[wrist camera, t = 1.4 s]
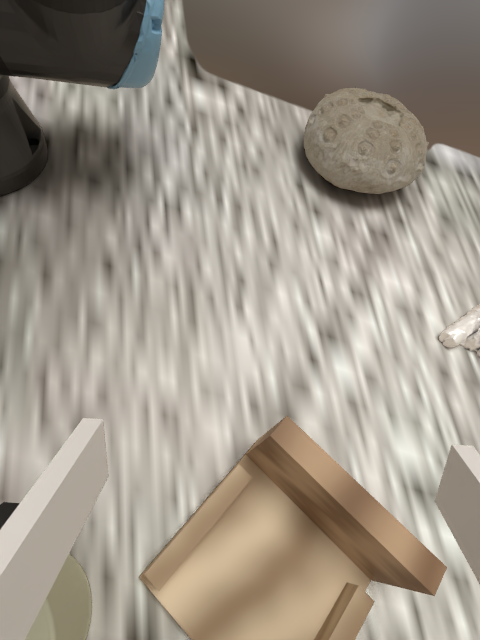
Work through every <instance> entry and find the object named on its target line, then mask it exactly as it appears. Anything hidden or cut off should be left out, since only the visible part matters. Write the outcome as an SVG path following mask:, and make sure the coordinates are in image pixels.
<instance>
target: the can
mask: <svg viewBox="0 0 480 640" xmlns="http://www.w3.org/2000/svg"><path fill="white" fill-rule="evenodd" d="M91 611H92V598H91V591H90V586H89V582H88V579H87V577H86V574H85V572H84V570H83V569H82V567H81V566H80V564H79V563H78V562H77V561H76V560H75V559H74V558H73V557H72V556H71V555H70V554H68V556H67V558H66V560H65V562H64V564H63V566H62V568H61V570H60V572H59V574H58V576H57V578H56V580H55V582H54V584H53V586H52V588H51V590H50V592H49V594H48V595H47V597H46V599H45V601H44V603H43V605H42V607H41V609H40V611H39V613H38V615H37V617H36V619H35V621H34V623H33V625H32V627H31V629H30V631H29V633H28V635H27V636H26V638H25V640H86V637H87V633H88V630H89V626H90V620H91Z"/></svg>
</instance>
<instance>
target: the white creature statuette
mask: <svg viewBox="0 0 480 640" xmlns="http://www.w3.org/2000/svg"><path fill="white" fill-rule="evenodd" d="M439 340H440V341H441V342H443V345H444V346H446V347H449V348H452V347H455V346H458V345H461V346H463V347H464V348H469V351H472V350H475V351H476V352H477V356H478V357H479V356H480V348H479V347H480V304H479V305H477V307H474V308H472V310H471V311H469V312H467V315H464V316H463V317H461V318H460V319H459V320H458V321H457V322H454V323H453V324H451V325H450V326H448V327H447V328H446V330H444V331H443V332H442V333H441V334H440V336H439ZM476 348H479V350H477V349H476Z"/></svg>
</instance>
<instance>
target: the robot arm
mask: <svg viewBox="0 0 480 640" xmlns="http://www.w3.org/2000/svg"><path fill="white" fill-rule="evenodd" d="M163 12H164V0H0V196H1V195H4V194H8V193H10V192H13V191H16V190H18V189H20V188H22V187H24V186H25V185H27V184H29V183H30V182H31V181H33V180H34V179H35V178H36V177H37V176H38V175H39V174H40V173H41V172H42V170H43V169H44V167H45V165H46V162H47V158H48V149H47V145H46V141H45V138H44V134H43V131H42V129H41V127H40V125H39V123H38V121H37V120H36V118H35V117H34V116H33V114H32V113H31V111H30V110H29V108H28V107H27V105H26V104H25V102H24V101H23V99H22V98H21V97H20V95H19V94H18V92H17V91H16V89H15V88H14V86H13V85H12V83H11V81H10V79H9V76H18V77H27V78H36V79H44V80H52V81H60V82H68V83H76V84H84V85H92V86H100V87H107V88H109V89H117V88H119V87H124V88H142V87H144V86H146V85H147V84H148V83H149V82H150V81H151V80H152V78H153V76H154V73H155V70H156V67H157V62H158V57H159V52H160V45H161V36H162V29H161V23H162V19H163ZM108 476H109V475H108V465H107V455H106V444H105V434H104V423H103V419H91V418H83V419H82V420H81V422H80V423H79V424H78V426H77V427H76V429H75V430H74V431H73V433H72V434H71V435H70V437H69V438H68V439H67V441H66V442H65V443H64V445H63V446H62V447H61V449H60V450H59V451H58V453H57V454H56V455H55V457H54V458H53V459H52V461H51V462H50V463H49V465H48V466H47V468H46V469H45V470H44V472H43V473H42V474H41V476H40V477H39V478H38V480H37V481H36V482H35V484H34V485H33V486H32V488H31V489H30V490H29V492H28V493H27V494H26V496H25V497H24V498H23V500H22V501H21V502H20V503H7V502H3V503H2V504H1V505H0V640H25V638H26V636H27V635H28V633H29V631H30V629H31V627H32V625H33V623H34V621H35V619H36V617H37V615H38V613H39V611H40V609H41V607H42V605H43V603H44V601H45V599H46V597H47V595H48V594H49V592H50V590H51V588H52V586H53V584H54V582H55V580H56V578H57V576H58V574H59V572H60V570H61V568H62V566H63V564H64V562H65V560H66V558H67V556H68V554H69V553H70V551H71V549H72V547H73V545H74V543H75V541H76V539H77V537H78V535H79V533H80V531H81V529H82V527H83V525H84V523H85V521H86V519H87V517H88V515H89V513H90V512H91V510H92V508H93V506H94V504H95V502H96V500H97V498H98V496H99V494H100V492H101V490H102V488H103V486H104V484H105V482H106V480H107V478H108ZM435 503H436V505H437V506H438V508H439V510H440V512H441V514H442V516H443V517H444V519H445V521H446V523H447V525H448V527H449V528H450V530H451V532H452V534H453V536H454V538H455V539H456V541H457V543H458V545H459V547H460V549H461V550H462V552H463V554H464V556H465V558H466V560H467V562H468V563H469V565H470V567H471V569H472V571H473V573H474V574H475V576H476V578H477V580H478V582H479V584H480V454H479V453H478V452H477V451H476V449H475V448H474V447H473V446H467V445H453V444H452V446H451V449H450V452H449V456H448V459H447V462H446V465H445V469H444V472H443V475H442V479H441V482H440V485H439V489H438V492H437V495H436V498H435Z"/></svg>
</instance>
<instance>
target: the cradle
mask: <svg viewBox="0 0 480 640" xmlns="http://www.w3.org/2000/svg"><path fill="white" fill-rule="evenodd" d="M446 569H447V567H446V566H445V565H444V564H443V563H442V562H441V561H440V560H439V559H438V558H437V557H436V556H434V555H433V554H432V553H431V552H430V551H429V550H428V549H427V548H426V547H425V546H424V545H423V544H422V543H421V542H420V541H419V540H418V539H417V538H415V537H414V536H413V535H412V534H411V533H410V532H409V531H408V530H407V529H406V528H405V527H404V526H403V525H402V524H401V523H400V522H399V521H398V520H397V519H395V518H394V517H393V516H392V515H391V514H390V513H389V512H388V511H387V510H386V509H385V508H384V507H383V506H382V505H381V504H380V503H379V502H378V501H376V500H375V499H374V498H373V497H372V496H371V495H370V494H369V493H368V492H367V491H366V490H365V489H364V488H363V487H362V486H361V485H360V484H359V483H358V482H356V481H355V480H354V479H353V478H352V477H351V476H350V475H349V474H348V473H347V472H346V471H345V470H344V469H343V468H342V467H341V466H340V465H339V464H337V463H336V462H335V461H334V460H333V459H332V458H331V457H330V456H329V455H328V454H327V453H326V452H325V451H324V450H323V449H322V448H321V447H320V446H319V445H317V444H316V443H315V442H314V441H313V440H312V439H311V438H310V437H309V436H308V435H307V434H306V433H305V432H304V431H303V430H302V429H301V428H300V427H298V426H297V425H296V424H295V423H294V422H293V421H292V420H291V419H290V418H289V417H288V416H286V417H285V418H284V419H282V420H281V421H280V422H279V423H278V424H276V425H275V426H274V427H273V428H271V429H270V430H269V431H268V432H267V433H265V434H264V435H263V436H262V437H260V438H259V439H258V440H257V441H256V442H255V443H254V445H253V446H252V447H251V448H250V449H249V450H248V451H247V453H246V454H245V455H244V456H243V457H242V458H241V460H240V461H239V462H238V463H237V464H236V465H235V466H234V468H233V469H232V470H231V471H230V472H229V473H228V475H227V476H226V477H225V478H224V479H223V480H222V481H221V483H220V484H219V485H218V486H217V487H216V488H215V490H214V491H213V492H212V493H211V494H210V495H209V496H208V498H207V499H206V500H205V501H204V502H203V503H202V505H201V506H200V507H199V508H198V509H197V510H196V512H195V513H194V514H193V515H192V516H191V517H190V518H189V520H188V521H187V522H186V523H185V524H184V525H183V527H182V528H181V529H180V530H179V531H178V532H177V533H176V535H175V536H174V537H173V538H172V539H171V540H170V542H169V543H168V544H167V545H166V546H165V547H164V548H163V550H162V551H161V552H160V553H159V554H158V555H157V557H156V558H155V559H154V560H153V561H152V562H151V563H150V565H149V566H148V567H147V568H146V569H145V570H144V572H143V573H142V574H141V575H140V577H139V578H140V579H141V580H142V581H143V583H144V584H145V585H146V586H147V587H148V588H149V590H150V591H151V592H152V593H153V594H154V596H155V597H156V598H157V599H158V600H159V601H160V603H161V604H162V605H163V606H164V607H165V609H166V610H167V611H168V612H169V613H170V614H171V616H172V617H173V618H174V619H175V620H176V622H177V623H178V624H179V625H180V626H181V627H182V629H183V630H184V631H185V632H186V633H187V635H188V636H189V637H190V638H191V639H192V640H355V638H356V636H357V634H358V632H359V630H360V628H361V627H362V625H363V623H364V621H365V619H366V617H367V615H368V613H369V611H370V609H371V607H372V605H373V603H374V601H373V600H372V599H371V598H370V597H369V596H368V595H367V594H366V593H365V590H366V588H367V586H368V585H369V583H370V581H371V580H373V581H377V582H381V583H385V584H389V585H393V586H397V587H401V588H405V589H409V590H413V591H417V592H421V593H425V594H429V595H433V596H435V594H436V591H437V589H438V587H439V585H440V582H441V580H442V578H443V575H444V573H445V571H446Z"/></svg>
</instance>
